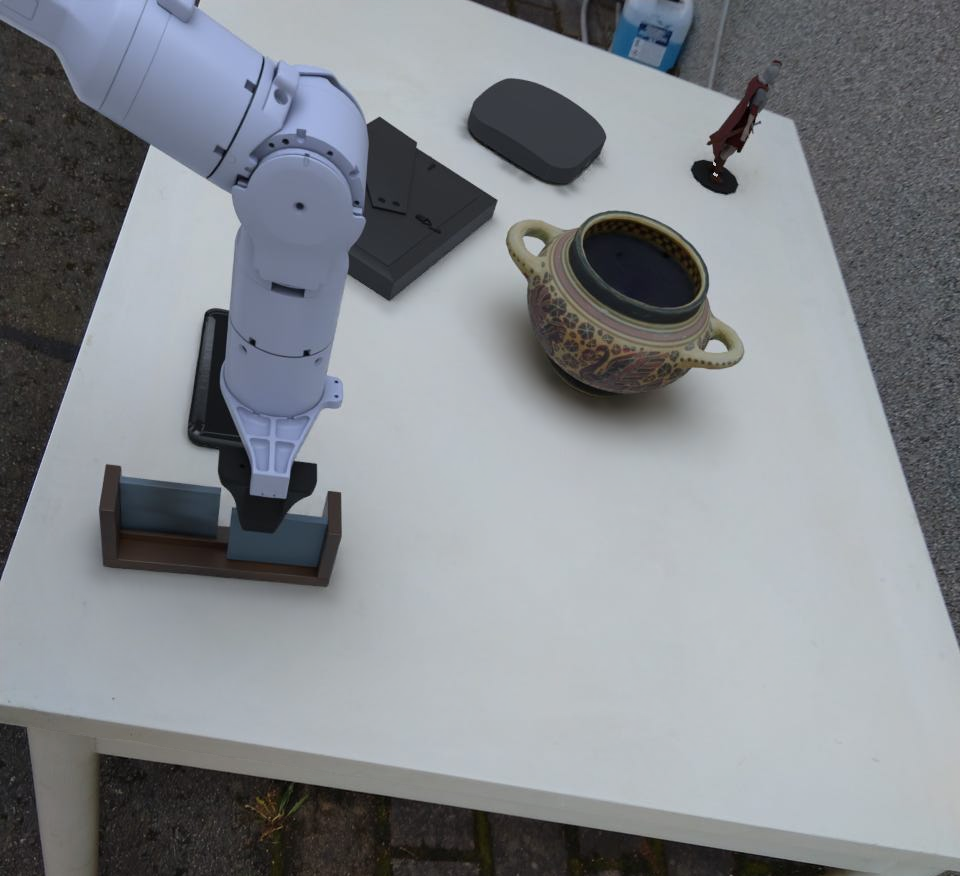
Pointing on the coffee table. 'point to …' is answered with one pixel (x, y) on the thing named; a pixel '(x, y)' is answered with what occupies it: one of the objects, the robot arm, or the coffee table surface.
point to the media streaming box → (537, 129)
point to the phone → (212, 387)
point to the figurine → (735, 133)
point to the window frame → (191, 532)
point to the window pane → (279, 541)
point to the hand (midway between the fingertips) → (260, 481)
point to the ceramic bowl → (620, 303)
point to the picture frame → (410, 212)
